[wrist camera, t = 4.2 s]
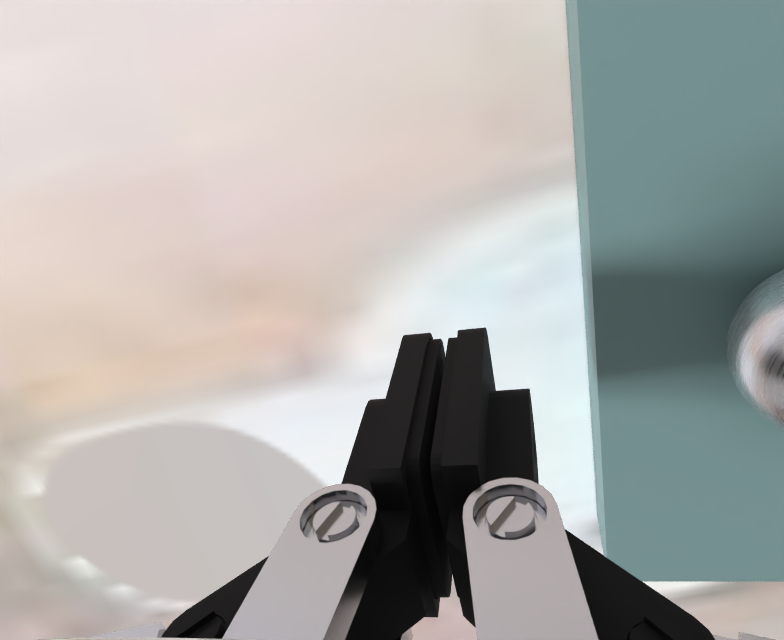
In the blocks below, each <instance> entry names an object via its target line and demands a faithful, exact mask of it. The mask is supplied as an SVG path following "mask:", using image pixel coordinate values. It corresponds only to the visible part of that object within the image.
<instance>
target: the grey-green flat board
mask: <svg viewBox="0 0 784 640" xmlns="http://www.w3.org/2000/svg"><path fill="white" fill-rule="evenodd" d="M566 15H567V31H568V48H569V64H570V80H571V97H572V113H573V129H574V145H575V162H576V178H577V194H578V210H579V227H580V243H581V259H582V276H583V292H584V308H585V324H586V341H587V357H588V373H589V389H590V406H591V422H592V438H593V455H594V471H595V487H596V503H597V517H598V523H599V529H600V535H601V541H602V547H603V553H604V556H605V557H607V558H608V559H609V560H611V561H612V562H614V563H615V564H617V565H618V566H620V567H621V568H623V569H624V570H626V571H627V572H629V573H630V574H632V575H633V576H634V577H636V578H637V579H639V580H640V581H784V430H783V429H781V428H779V427H777V426H776V425H774V424H773V423H771V422H770V421H768V420H766V419H765V418H764V417H762V416H761V415H760V414H759V413H758V412H757V411H756V410H754V409H753V408H752V407H751V406H750V404H749V403H748V402H747V401H746V400H745V399H744V397H743V396H742V394H741V393H740V391H739V390H738V388H737V386H736V384H735V382H734V380H733V377H732V375H731V372H730V369H729V364H728V359H727V338H728V331H729V328H730V324H731V321H732V319H733V317H734V315H735V313H736V311H737V309H738V307H739V306H740V304H741V303H742V301H743V300H744V299H745V298H746V296H747V295H748V294H749V293H750V292H751V291H752V290H753V289H754V288H755V287H756V286H758V285H759V284H760V283H761V282H763V281H764V280H765V279H767V278H769V277H770V276H772V275H774V274H775V273H777V272H779V271H781V270H783V269H784V0H566Z"/></svg>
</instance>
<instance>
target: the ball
mask: <svg viewBox="0 0 784 640" xmlns="http://www.w3.org/2000/svg"><path fill="white" fill-rule="evenodd" d="M727 359H728V364H729V369H730V372H731V375H732V377H733V380H734V382H735V384H736V386H737V388H738V390H739V391H740V393H741V394H742V396H743V397H744V399H745V400H746V401H747V402H748V403H749V404H750V406H751V407H752V408H753V409H754V410H756V411H757V412H758V413H759V414H760V415H761V416H762V417H764V418H765V419H766V420H768V421H770V422H771V423H773V424H774V425H776V426H777V427H779V428H781V429H783V430H784V269H783V270H781V271H779V272H777V273H775V274H774V275H772V276H770V277H769V278H767V279H765V280H764V281H763V282H761V283H760V284H759V285H758V286H756V287H755V288H754V289H753V290H752V291H751V292H750V293H749V294H748V295H747V296H746V298H745V299H744V300H743V301H742V303H741V304H740V306H739V307H738V309H737V311H736V313H735V315H734V317H733V319H732V321H731V324H730V328H729V331H728V338H727Z"/></svg>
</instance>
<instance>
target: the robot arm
mask: <svg viewBox="0 0 784 640" xmlns="http://www.w3.org/2000/svg"><path fill="white" fill-rule="evenodd" d="M452 574H453V578H454V583H455V587H456V592H457V596H458V597H459V598H460V603H461V607H462V612H463V616H464V617H465V618H466V619H467V620H468V621H469V622H470V623H471V624H472V625H473V626H474V627H475V628H476V634H477V640H735V639H730V638H726V637H721V636H716V635H712V634H711V632H710V631H709V630H708V629H707V628H706V627H705V626H704V625H703V624H701V623H700V622H699V621H698V620H697V619H696V618H695V617H693V616H692V615H690V614H689V613H687V612H686V611H684V610H683V609H681V608H680V607H679V606H677V605H676V604H674V603H673V602H671V601H670V600H668V599H667V598H665V597H664V596H662V595H661V594H659V593H658V592H656V591H655V590H654V589H652V588H651V587H649V586H648V585H646V584H645V583H643V582H642V581H640V580H639V579H637V578H636V577H634V576H633V575H632V574H630V573H629V572H627V571H626V570H624V569H623V568H621V567H620V566H618V565H617V564H615V563H614V562H612V561H611V560H609V559H608V558H607V557H605V556H604V555H602V554H601V553H599V552H598V551H596V550H595V549H593V548H592V547H590V546H589V545H587V544H586V543H584V542H583V541H582V540H580V539H579V538H577V537H576V536H574V535H573V534H571V533H570V532H568V531H567V530H565V529H564V526H563V522H562V519H561V516H560V512H559V509H558V506H557V503H556V501H555V500H554V498H553V496H552V494H551V493H550V492H549V491H547V490H546V489H545V488H544V487H543V486H542V485H539V482H538V467H537V453H536V442H535V432H534V422H533V413H532V405H531V396H530V390H529V389H517V390H503V391H496V389H495V383H494V376H493V369H492V362H491V355H490V349H489V342H488V335H487V330H486V328H477V329H466V330H458V335H457V337H456V338H449V339H448V345H447V351H446V357H445V352H444V347H443V342H442V340H441V339H434V340H433V338H432V335H431V333H423V334H413V335H404V336H403V338H402V341H401V345H400V349H399V352H398V356H397V359H396V363H395V367H394V370H393V374H392V378H391V381H390V385H389V388H388V392H387V396H386V399H374V400H370V401H368V403H367V405H366V408H365V411H364V414H363V418H362V421H361V424H360V427H359V430H358V433H357V437H356V440H355V443H354V446H353V449H352V452H351V456H350V459H349V462H348V465H347V468H346V471H345V475H344V478H343V481H342V484H336V485H332V486H328V487H325V488H322V489H320V490H318V491H317V492H314V493H313V494H311V495H310V496H309V497H307V498H306V499H305V500H304V501H302V502H301V504H300V505H299V506H298V508H297V509H296V510H295V512H294V513H293V515H292V517H291V518H290V521H289V522H288V524H287V526H286V528H285V529H284V531H283V533H282V534H281V536H280V538H279V540H278V541H277V543H276V545H275V547H274V548H273V550H272V552H271V554H270V555H269V556H268V557H267V558H265V559H264V560H262V561H261V562H259V563H258V564H256V565H254V566H253V567H251V568H250V569H248V570H247V571H245V572H244V573H242V574H241V575H239V576H238V577H236V578H235V579H233V580H232V581H230V582H229V583H227V584H226V585H224V586H223V587H221V588H220V589H218V590H217V591H215V592H214V593H212V594H210V595H209V596H207V597H206V598H204V599H203V600H201V601H200V602H198V603H197V604H195V605H194V606H192V607H191V608H189V609H188V610H186V611H185V612H184V613H183V614H181V615H180V616H179V617H178V618H176V619H175V620H174V621H173V622H172V623H171V624H170V626H169V627H168V628H165V627H164V626H163V624H162V622H158V623H153V624H148V625H143V626H139V627H134V628H129V629H124V630H119V631H115V632H110V633H105V634H100V635H96V636H91V637H86V638H61V639H39V640H412V637H413V635H412V630H411V627H412V626H413V625H415V624H416V623H417V622H418V621H420V620H421V619H422V618H423V617H438V612H439V602H440V597H450V593H451V583H452ZM738 640H774V639H770V638H765V637H760V636H755V635H751V634H746V633H741V632H739V633H738Z"/></svg>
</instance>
